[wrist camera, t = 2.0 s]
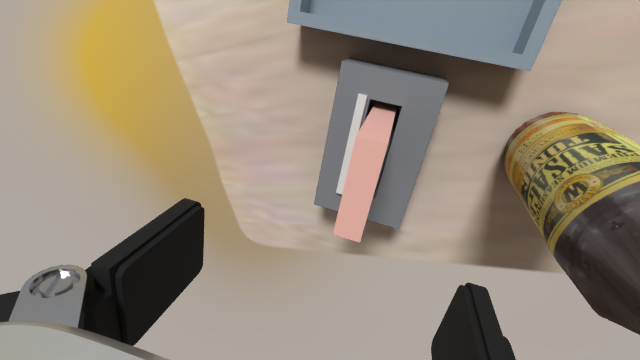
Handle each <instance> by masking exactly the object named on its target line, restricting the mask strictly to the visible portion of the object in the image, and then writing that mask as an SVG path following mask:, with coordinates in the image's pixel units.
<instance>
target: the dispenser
mask: <svg viewBox="0 0 640 360" xmlns="http://www.w3.org/2000/svg"><path fill="white" fill-rule="evenodd" d="M448 85H449V83H448V82H447V81H446V78H442V77H437V76H433V75H428V74H423V73H418V72H414V71H409V70H404V69H400V68H395V67H390V66H385V65H381V64H376V63H371V62H367V61H362V60H357V59H352V58H348V59H346V60H343V61H342V63H341V68H340V73H339V78H338V83H337V88H336V93H335V99H334V104H333V109H332V114H331V119H330V124H329V129H328V134H327V140H326V145H325V150H324V155H323V160H322V165H321V170H320V176H319V181H318V186H317V191H316V196H315V201H314V205H318V206H321V207H325V208H328V209H331V210H335V211H338V210H339V206H340V202H341V198H342V194H343V189H344V185H345V181H346V177H347V172H348V168H349V164H350V160H351V155H352V151H353V147H354V143H355V139H356V135H357V133H358V132H359V130H360V128H361V127H362V125H363V123H364V121H365V120H366V118H367V116H368V115H369V113H370V111H371V110H372V108H373V106H374V104H375V103H376V101H378V102H382V103H386V104H391V105H395V106H397V108H396V112H395V117H394V121H393V125H392V130H391V134H390V138H389V143H388V146H387V150H386V153H385V157H384V160H383V164H382V167H381V171H380V174H379V178H378V181H377V185H376V188H375V192H374V195H373V199H372V202H371V206H370V209H369V213H368V216H367V220H369V221H372V222H376V223H379V224H383V225H386V226H389V227H393V228H396V229H399V227H400V225H401V222H402V219H403V216H404V213H405V210H406V207H407V204H408V201H409V198H410V196H411V193H412V190H413V187H414V184H415V181H416V178H417V175H418V172H419V169H420V167H421V164H422V161H423V158H424V155H425V152H426V149H427V146H428V143H429V140H430V138H431V135H432V132H433V129H434V126H435V123H436V120H437V117H438V114H439V111H440V109H441V106H442V103H443V100H444V97H445V94H446V91H447V88H448Z"/></svg>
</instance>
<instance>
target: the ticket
mask: <svg viewBox="0 0 640 360" xmlns="http://www.w3.org/2000/svg"><path fill="white" fill-rule="evenodd" d="M396 108H397V106H395V105H391V104H386V103H382V102H378V101H376V103H375V104H374V106H373V108H372V110H371V111H370V113H369V115H368V116H367V118H366V120H365V121H364V123H363V125H362V127H361V128H360V130H359V132H358V133H357V135H356V139H355V143H354V147H353V151H352V155H351V160H350V164H349V168H348V172H347V177H346V181H345V185H344V189H343V194H342V198H341V202H340V206H339V210H338V215H337V219H336V223H335V227H334V232H333V235H336V236H340V237H343V238H346V239H350V240H353V241H356V242H359V243H360V241H361V237H362V234H363V230H364V227H365V223H366V220H367V216H368V213H369V209H370V206H371V202H372V199H373V195H374V192H375V188H376V185H377V181H378V178H379V174H380V171H381V167H382V164H383V160H384V157H385V153H386V150H387V146H388V143H389V138H390V134H391V130H392V125H393V121H394V117H395V112H396Z"/></svg>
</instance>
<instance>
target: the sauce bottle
mask: <svg viewBox="0 0 640 360" xmlns="http://www.w3.org/2000/svg"><path fill="white" fill-rule="evenodd" d="M503 159H504V162H505V170H506V174H507V177H508V179H509V181H510V182H511V184H512V186H513V187H514V189H515V191H516V192H517V194H518V196H519V197H520V199H521V201H522V202H523V204H524V206H525V208H526V210H527V211H528V213H529V215H530V216H531V218H532V220H533V221H534V223H535V225H536V226H537V228H538V230H539V231H540V233H541V235H542V237H543V238H544V240H545V242H546V244H547V245H548V247H549V249H550V251H551V252H552V254H553V256H554V257H555V259H556V261H557V262H558V263H559V265H560V266H561V267H562V269H563V270H564V271H565V272H566V274H567V275H568V276H569V278H570V279H571V280H572V282H573V283H574V284H575V286H576V287H577V288H578V290H579V291H580V292H581V294H582V295H583V296H584V298H585V299H586V301H587V302H588V303H589V305H590V306H591V307H592V309H593V310H594V311H595V312H596V313H597V314H598V315H600V316H601V317H603V318H606V319H608V320H610V321H612V322H614V323H617V324H619V325H621V326H623V327H625V328H627V329H629V330H631V331H633V332H635V333H637V334H640V145H639V144H637V143H636V142H634V141H632V140H630V139H628V138H627V137H625V136H623V135H621V134H619V133H618V132H616V131H614V130H612V129H610V128H608V127H607V126H605V125H603V124H601V123H599V122H597V121H595V120H593V119H591V118H588V117H585V116H581V115H579V114H573V113H567V112H551V113H547V114H544V115H540V116H538V117H535V118H533V119H531V120H530V121H527V122H525V123H524V124H523V125H522V126H521V127H519V128H518V129H516V130H515V132H514V133H513V135H512V136H511V138H510V140H509V142H508V144H507V146H506V150H505V152H504V156H503Z"/></svg>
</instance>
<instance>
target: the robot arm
mask: <svg viewBox="0 0 640 360" xmlns="http://www.w3.org/2000/svg"><path fill="white" fill-rule="evenodd" d="M203 246H204V208H203V207H201V204H200V203H199V202H196V201H193V200H190V199H186V198H184V199H182V200H181V201H179V202H178V203H176V204H175V205H174V206H172V207H171V208H169V209H168V210H166V211H165V212H164V213H162V214H161V215H159V216H158V217H156V218H155V219H154V220H152V221H151V222H149V223H148V224H147V225H145V226H144V227H142V228H141V229H139V230H138V231H137V232H135V233H134V234H132V235H131V236H129V237H128V238H127V239H125V240H124V241H122V242H121V243H119V244H118V245H117V246H115V247H114V248H112V249H111V250H109V251H108V252H107V253H105V254H104V255H103V256H101V257H100V258H98V259H97V260H95V261H94V262H93V263H91V265H92V266H90V267H89V268H87V269H86V270H84V269H83V268H81V267H78V266H74V265H60V266H55V267H51V268H48V269H45V270H42V271H40V272H38V273H37V274H35V275H33V276H32V277H31V278H29V279H28V280H27V281H26V282H25V284H24V285H23V287H22V289H21V291H17V292H12V293H6V294H2V295H0V360H168V359H166V358H163V357H160V356H158V355H155V354H153V353H150V352H147V351H145V350H142V349H139V348H136V347H134V346H133V345H135V344H136V343H137V342H138V341H139V340H140V339H141V337H142V336H143V335H144V334H145V333H146V332H147V331H148V330H149V328H150V327H151V326H152V325H153V324H154V323H155V322H156V321H157V320H158V318H159V317H160V316H161V315H162V314H163V313H164V312H165V311H166V309H167V308H168V307H169V306H170V305H171V304H172V302H174V301H175V299H176V298H177V297H178V296H179V295H180V294H181V293H182V292H183V290H184V289H185V288H186V287H187V286H188V285H189V284H190V283H191V281H192V280H193V279H194V278H195V277H196V276H197V274H199V272H200V270H201V269H202V266H203ZM431 353H432V360H516V359H515V356H514V353H513V350H512V348H511V345H510V343H509V341H508V339H507V338H506V337H504V336H503V335H502V332H501V329H500V326H499V323H498V320H497V317H496V314H495V311H494V308H493V305H492V302H491V299H490V296H489V293H488V290H487V289H486V288H485V287H482V286H478V285H475V284H471V283H466V285H465V286H463V285H460V286H459V287H458V289H457V291H456V293H455V295H454V297H453V299H452V301H451V303H450V305H449V307H448V310H447V311H446V314H445V316H444V318H443V320H442V322H441V324H440V326H439V328H438V330H437V332H436V334H435V336H434V338H433V341H432V346H431Z"/></svg>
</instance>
